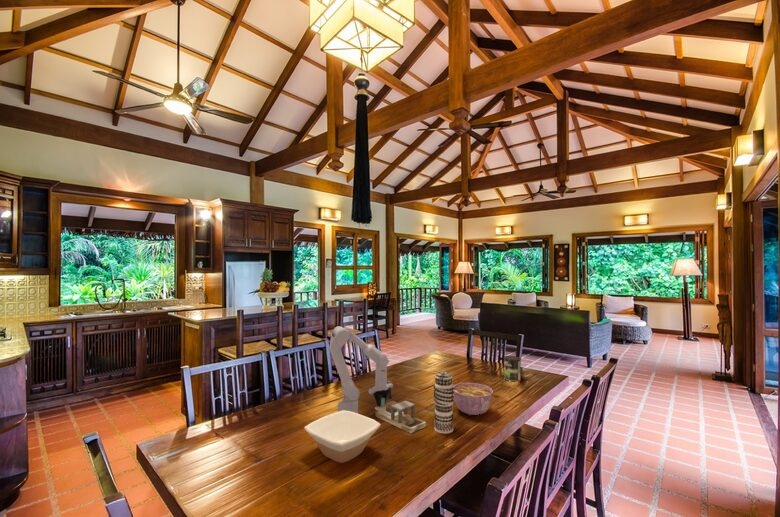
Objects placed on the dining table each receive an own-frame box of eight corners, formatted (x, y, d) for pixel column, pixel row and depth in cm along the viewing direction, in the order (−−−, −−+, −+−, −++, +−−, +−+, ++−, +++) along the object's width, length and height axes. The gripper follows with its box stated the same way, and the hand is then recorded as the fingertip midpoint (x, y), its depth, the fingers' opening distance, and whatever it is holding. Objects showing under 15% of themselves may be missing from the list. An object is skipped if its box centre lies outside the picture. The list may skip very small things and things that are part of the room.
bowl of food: (495, 422, 165) (494, 397, 165) (451, 419, 169) (451, 394, 169) (491, 406, 184) (491, 384, 185) (452, 403, 188) (452, 381, 189)
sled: (394, 418, 165) (394, 407, 165) (374, 409, 175) (374, 398, 175) (403, 414, 169) (403, 403, 169) (384, 405, 179) (384, 395, 180)
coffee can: (512, 382, 222) (511, 360, 222) (500, 378, 231) (500, 356, 231) (524, 380, 226) (524, 358, 226) (512, 376, 235) (512, 355, 236)
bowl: (343, 432, 155) (343, 407, 156) (386, 450, 140) (386, 423, 140) (298, 454, 137) (298, 426, 137) (341, 478, 122) (342, 447, 122)
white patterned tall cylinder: (438, 435, 153) (438, 377, 153) (430, 425, 162) (430, 371, 162) (457, 432, 155) (457, 375, 156) (448, 423, 164) (448, 369, 165)
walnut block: (391, 413, 168) (391, 405, 168) (386, 411, 171) (386, 402, 171) (397, 411, 171) (397, 402, 171) (392, 408, 173) (392, 400, 174)
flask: (375, 396, 199) (375, 377, 199) (377, 394, 201) (377, 375, 201) (390, 398, 195) (390, 379, 195) (392, 397, 197) (392, 377, 198)
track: (410, 433, 154) (410, 414, 154) (375, 416, 172) (375, 399, 172) (426, 426, 161) (426, 408, 161) (390, 410, 179) (390, 394, 179)
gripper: (375, 382, 169) (374, 411, 169) (397, 376, 179) (397, 403, 179) (365, 379, 174) (365, 407, 174) (387, 373, 184) (387, 399, 184)
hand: (381, 405), depth 177 cm, fingers closed on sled, 2 cm apart
